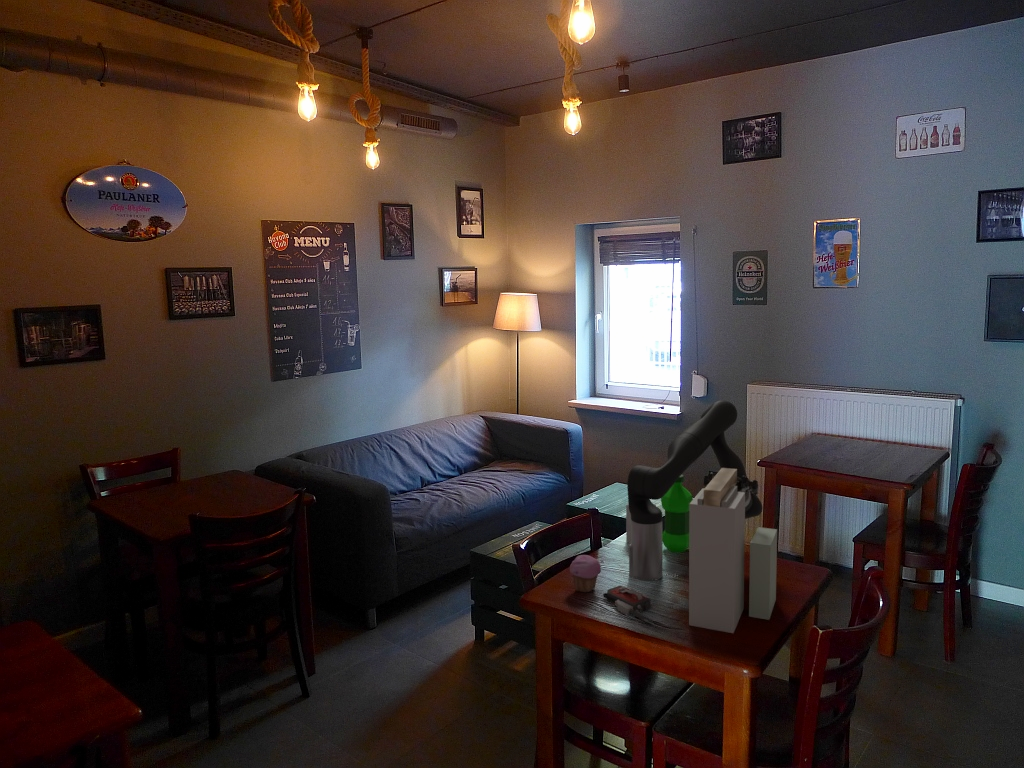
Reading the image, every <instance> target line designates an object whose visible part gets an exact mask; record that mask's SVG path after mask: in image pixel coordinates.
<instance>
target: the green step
mask: <svg viewBox="0 0 1024 768" xmlns="http://www.w3.org/2000/svg"><path fill="white" fill-rule="evenodd" d="M777 543H778V529H777V528H776V529H775V528H770V527H769V528H767V527H760V526H759V527H757V528H756V530H755V532H754V534H753V536H752V538H751V541H750V543H749V586H748V587H749V591H748V593H749V595H748V597H749V598H748V601H749V602H748V605H749V606H748V617H751V618H755V619H762V620H766V621H767V620H768V621H770V619H771V616H772V612H773V610H774V606H775V603H776V600H777V560H778V558H777V557H778V556H777V555H778V554H777V553H778V551H777V550H778V548H777V547H778V544H777Z"/></svg>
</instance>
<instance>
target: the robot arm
mask: <svg viewBox="0 0 1024 768" xmlns="http://www.w3.org/2000/svg"><path fill="white" fill-rule="evenodd" d="M737 419H738V410H737V408H736V406H735V404H733V403H732V402H731V401H728V400H721V399H720V400H718V401H714V403H712V404H711V405H710V406H709V407H708V408H707V409H706V410H704V412H702V414H701V415H700V419H698V420H697V421H696V422H694V423H693V424H691V425H690V426H688V427H687V428H686V429H684V430H683V431H682V432H681V433H679V434H678V435H677V436H676V437H674V438H673V440H672V441H671V442H670V443H669V445H668V447H667V461H666V462H665V463H664V464H663V465H662V466H660V467H658V468H657V467H653V466H652V467H651V466H648V465H647V466H646V465H635V466H633V467H631V469H630V471H629V473H628V475H627V482H626V483H627V486H626V487H627V502H628V503H627V505H629V511H630V514H631V543H629V545H628V576H629V577H632V578H635V579H636V580H641V581H647V582H648V581H649V582H651V581H657V580H660V579H661V578H662V577H663V573H664V572H663V571H664V570H663V569H664V568H663V566H664V565H663V558H664V557H663V553H664V552H663V548H664V547H663V546H664V544H663V538H662V534H663V511H662V510H661V508H659V507H658V506H657V505H656V504H655V505H656V506H655V505H654V503H653V502H652V501H651V500H653V501H654V500H655V501H657V500H661V498H662V497H663V496H664V495H665V494H666V493H667V492H668V491H669V489H670V488H671V487H672V486H673V484H674V483H675V482H676V480H677V479H678V478H679V477H680V476H681V475H683V474H684V472H686V471H687V470H688V469H689V467H690V466H691V465H692V464H694V462H696V461H697V460H698V459H699V458H700V457H701V456H702V455H703V454H704V452H706V451H707V449H708V448H709V447H710V446H711V449H712V451H713V453H714V454H715V457H716V459H717V462H718V465H719V467H720V469H721V468H730V469H737V484H736V485H735V486H737V492H745V520H748V519H750V518H755V517H758V516H760V515H761V514H762V512H763V504H762V501H761V499H760V498H759V497H758V494H759V482H758V480H756V479H754V480H752V481H751V479H750V478H748V476H747V472H746V468H745V466H744V463H743V461H742V460H741V458H740V457H739V456H738V455H737V454H736V453H735V451H733V450H732V449H731V448H730V446H729V445H728V443H727V441H726V436H725V433H726V431H727V430H729V428H731V427H732V426H733V425H734V424H735V423H736V422H737ZM715 476H716V474H714V473H713V472H710V473H709V474H708V475H704V477H703V486H704V488H705V487H706V486H707V485H708V484H709V483H710V481H711V480H712V479H713V478H714V477H715Z"/></svg>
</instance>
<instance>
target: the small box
mask: <svg viewBox="0 0 1024 768" xmlns="http://www.w3.org/2000/svg"><path fill="white" fill-rule="evenodd" d="M653 504H654V503H653ZM654 505H655V506H657V505H656V504H654ZM625 508H626V509H625V511H626V512H625V513H626V519H625V520H626V522H625V525H626V526H625V529H626V535H625V536H626V542H627V543H629V544H631V514H630V511H629V505H628V504H626V505H625Z"/></svg>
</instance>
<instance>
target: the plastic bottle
mask: <svg viewBox="0 0 1024 768" xmlns="http://www.w3.org/2000/svg"><path fill="white" fill-rule="evenodd" d="M684 478H685V477H684V474H682V475H681V476H680V477H679V478H678V479H677V480H676V482H675V483H674V484H673V486H672V487H671V488H670V489H669V491H668V492H667V493H666V494H665V495H664V496H663V497H662V498H660V503H661V507H662V509H663V510H664V530H663V531H662V538H663V546H664V547H665V548H666V549H668V550H669V552H671V553H677V554H679V553H684V552H685V551H686V550H689V504H690V502H691V501H692V500H693V499H694V497H693V496H692V493H691V492H690V491H689V490H688V489H687V488H686V487H684V486H683V482H684V481H685V479H684Z"/></svg>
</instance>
